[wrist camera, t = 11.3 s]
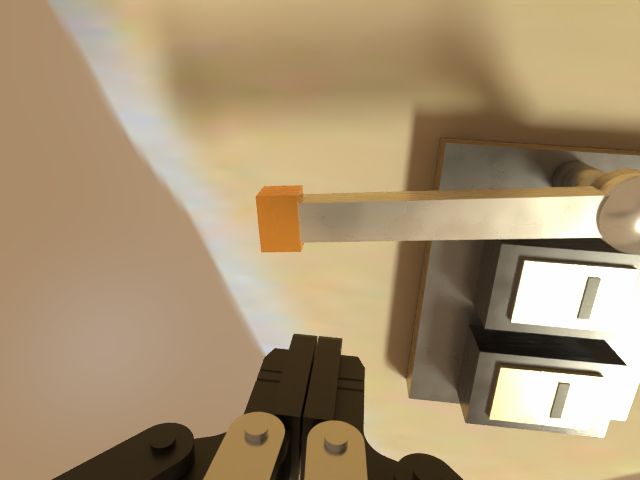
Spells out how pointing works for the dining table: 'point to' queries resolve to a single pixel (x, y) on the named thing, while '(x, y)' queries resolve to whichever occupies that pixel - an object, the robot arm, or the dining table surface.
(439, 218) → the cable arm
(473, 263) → the dark boxy piece
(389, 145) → the dining table surface
